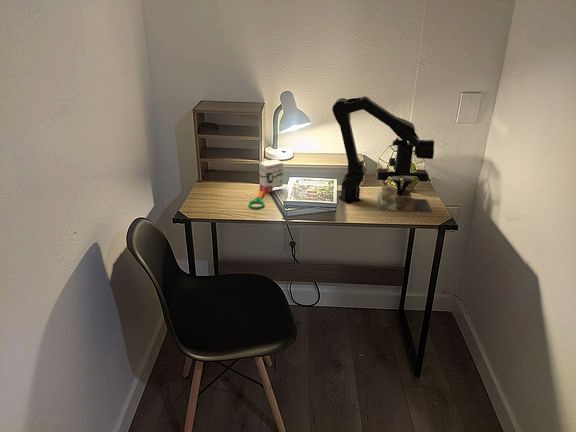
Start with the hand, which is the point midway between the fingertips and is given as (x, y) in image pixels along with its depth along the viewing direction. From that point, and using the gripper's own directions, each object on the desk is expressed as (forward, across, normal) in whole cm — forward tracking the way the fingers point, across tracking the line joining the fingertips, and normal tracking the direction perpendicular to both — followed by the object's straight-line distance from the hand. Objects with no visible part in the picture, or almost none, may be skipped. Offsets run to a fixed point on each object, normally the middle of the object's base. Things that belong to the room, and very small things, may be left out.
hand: (399, 195), depth 189 cm
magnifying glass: (+4, +54, +3) cm, 54 cm away
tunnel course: (+4, -1, 0) cm, 4 cm away
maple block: (+1, +4, 0) cm, 4 cm away
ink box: (+3, +51, -10) cm, 52 cm away
